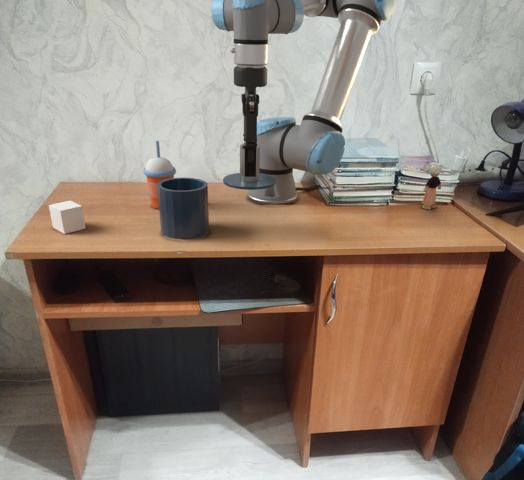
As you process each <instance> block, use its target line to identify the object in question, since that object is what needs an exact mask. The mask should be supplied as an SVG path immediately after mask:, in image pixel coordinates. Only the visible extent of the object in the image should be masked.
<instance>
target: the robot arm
mask: <svg viewBox="0 0 524 480" xmlns="http://www.w3.org/2000/svg"><path fill="white" fill-rule="evenodd" d="M396 7H397V0H212V3H211V7H210V12H211V13H210V14H211V19H212V22H213V24H214V26H215V27H216V28H217V29H218V30H221V31H227V32H233V47H232V48H230V53H231V54H233V64H235V65H236V66H234V68H233V84H234V86H236V87H239V88H244V93H241V94H240V95H241V96H240V97H241V99H240V100H241V104H242V105H241V106H242V108H241V109H242V110H241V111H242V116H243V134H242V135H243V144H245V146H242V149H245V177H256V148H257V144H258V145H260V168H259V173H262V174H267V175H270V176H272V177H274V178H275V179H276V184H275V185H274V186H272V187H269V188H265V189H256V190H247V191H248V192H247V199H248V200H249V201H250V202H253V203H255V204H258V205H262V206H270V205H271V206H287V205H291V204H294V203H295V202H297V200H298V191H301V192H302V191H303V192H305V191H311V190H312V189H315V188H322V187H321V186H320V185H318V183H316V184H311V185H309V186H308V187H301V186H300V187H298V186H297V187H296V182H295V178H294V173H293V172H294V170H298V171H302V172H307V173H310V174H313V175H329V174H330V173H331V172H333V171H335V169H336V168H337V167H338V166H339V165H340V162H341V160H342V158H343V156H344V153H345V150H346V149H345V148H346V147H345V145H346V138H345V136H344V134H343V131H344V128H343V125H342V124H341V120H342V117H343V115H344V113H345V109H346V107H347V103H348V101H349V98H350V95H351V92H352V89H353V86H354V83H355V81H356V78H357V75H358V72H359V69H360V67H361V65H362V64H361V63H362V61H363V58H364V55H365V52H366V49H367V46H368V44H369V41H370V38H371V36H373V35H375V34H377V33H378V32H379V30H380V26H381V25H382V22H387V21H389V20H391V18H392V17H393V16H394V13H395V10H396ZM304 16H305V17H308V18H316V17H325V18H334V19H338V22H339V24H340V25H339V29H338V32H337V34H336V37H335V40H334V43H333V47H332V49H331V52H330V55H329V58H328V60H327V63H326V67H325V69H324V73H323V75H322V79H321V81H320V84H319V87H318V90H317V93H316V96H315V98H314V101H313V105H312V107H311V110H310V111H309V112H307V113H305V114H304V115H303V117H302V120H301V121H300V124H297V120H296V118H295V117H294V116H293V117H292V116H281V117H280V116H279V117H269V118H268V117H267V118H263V119H259V120H258V116H259V104H260V95H259V94H258V93H257V88H264V87H266V86H268V69H267V67H266V65H268V64H269V35H288V34H293V33H296V32H297V31H298V30H300V28H301V27H302V24H303V22H304V18H305V17H304Z"/></svg>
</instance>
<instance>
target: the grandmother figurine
mask: <svg viewBox="0 0 524 480" xmlns="http://www.w3.org/2000/svg"><path fill="white" fill-rule="evenodd" d="M441 173H442V167H441V166H440V165H439V164H438V163H437V164H436V163H435V164H432V165H431V166H430V168H429V175H430V176H431V177H430V178H428V180H427V181H426V183H425V185H424V188H423V193H424V195H423V198H422V202H421V204H422V206H421V208H422V209H425V210H432V209H435V208H436V200H437V189H438V190H442V182H441V180H440V177H439V175H440V174H441Z"/></svg>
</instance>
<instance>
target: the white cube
mask: <svg viewBox="0 0 524 480" xmlns="http://www.w3.org/2000/svg"><path fill="white" fill-rule="evenodd" d="M48 210H49V214H50V220H51V225H52V228H53V229H54V230H56V231H58V232H60V233H62V234H64V235H66V234H70V233H74V232H78V231H81V230H85V229H87V227H86V222H85V216H84V210H83V205H81V204H79V203H77V202H75V201H73V200H66V201H61V202H57V203H52V204H48Z"/></svg>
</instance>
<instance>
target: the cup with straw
mask: <svg viewBox="0 0 524 480" xmlns="http://www.w3.org/2000/svg"><path fill="white" fill-rule="evenodd" d="M155 149H156V157H151V159H149V160H148V161H147V163H146V164H145V167H144V168H143V170H142V172H143V174H144V175H145V177H146V185H147V192H148V196H149V198H150V204H151V208H154V209H156V210H159V199H158V187H157V185H158V183H159V182H161V181H163V180H166V179H172V178H175V175H176V174H177V169H176V167H174V166H173V164H172V162H171V161H170V159H168V158H166V157H163V156H161V151H160V150H161V149H160V141H159V140H155Z"/></svg>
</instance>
